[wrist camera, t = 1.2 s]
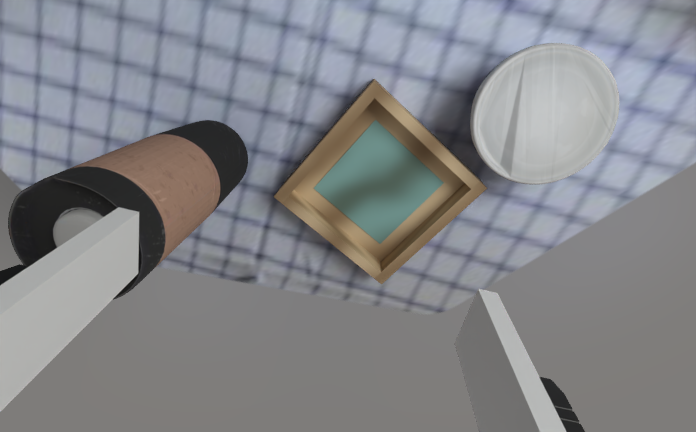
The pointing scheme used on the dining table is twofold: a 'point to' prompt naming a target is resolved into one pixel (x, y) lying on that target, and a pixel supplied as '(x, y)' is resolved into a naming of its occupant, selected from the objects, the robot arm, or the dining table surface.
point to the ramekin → (544, 113)
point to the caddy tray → (379, 184)
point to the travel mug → (134, 193)
